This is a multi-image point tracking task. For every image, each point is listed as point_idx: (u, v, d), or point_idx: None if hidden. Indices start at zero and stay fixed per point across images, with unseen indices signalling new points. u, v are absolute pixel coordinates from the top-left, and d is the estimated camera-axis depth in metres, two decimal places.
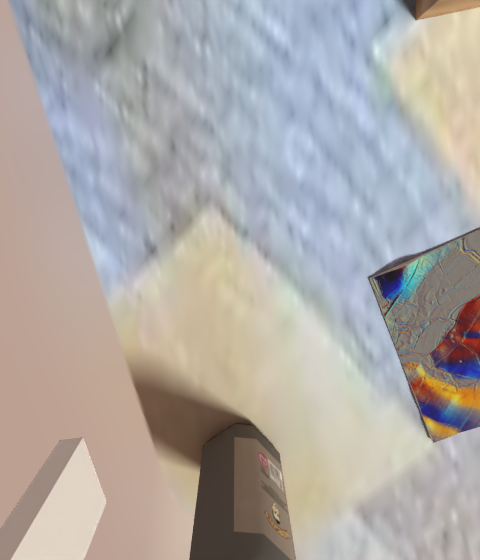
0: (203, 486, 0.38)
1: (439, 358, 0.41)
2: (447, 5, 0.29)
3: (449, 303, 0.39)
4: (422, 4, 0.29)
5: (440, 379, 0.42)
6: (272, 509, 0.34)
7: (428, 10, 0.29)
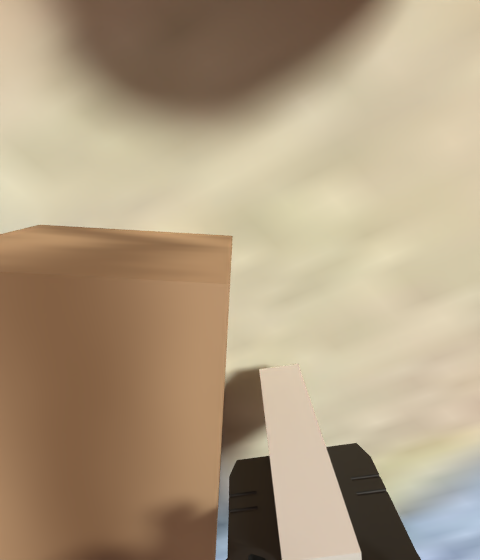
0: None
1: None
2: None
3: None
4: None
5: None
6: None
7: None
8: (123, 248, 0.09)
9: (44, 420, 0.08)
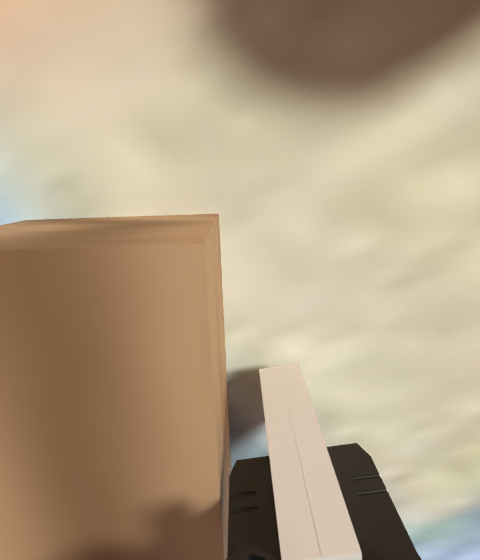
0: None
1: None
2: None
3: None
4: None
5: None
6: None
7: None
8: (104, 228, 0.09)
9: (36, 401, 0.08)
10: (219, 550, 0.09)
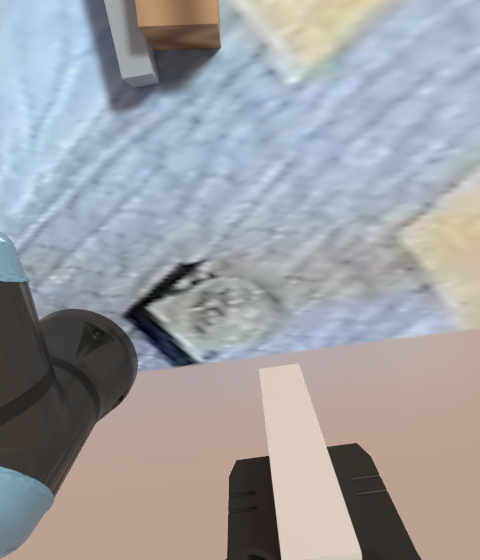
0: None
1: None
2: None
3: None
4: (212, 43, 0.34)
5: None
6: None
7: (219, 38, 0.33)
8: None
9: None
10: None
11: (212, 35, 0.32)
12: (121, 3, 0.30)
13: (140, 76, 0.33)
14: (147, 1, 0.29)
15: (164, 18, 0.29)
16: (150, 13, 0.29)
